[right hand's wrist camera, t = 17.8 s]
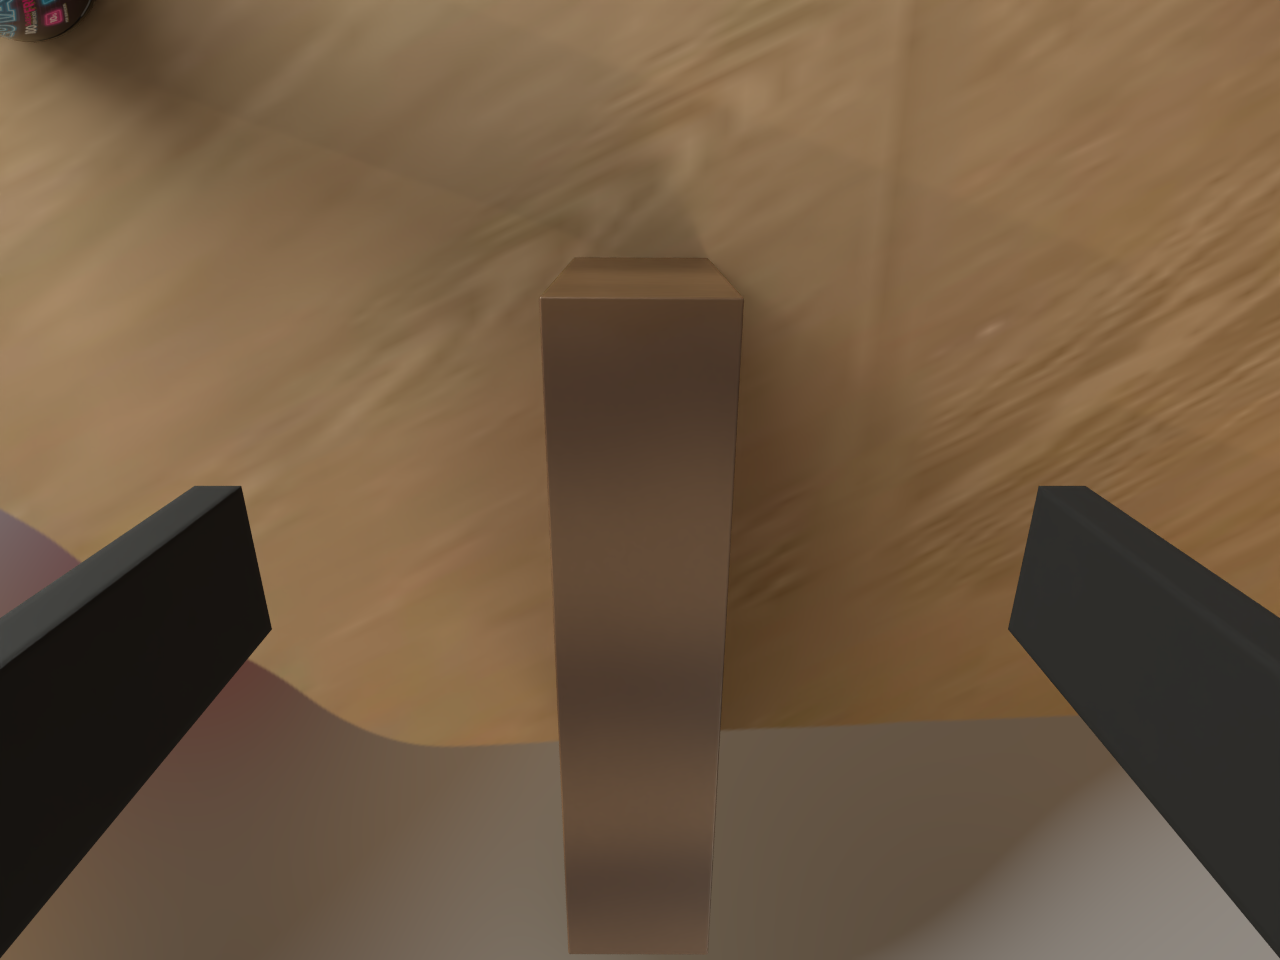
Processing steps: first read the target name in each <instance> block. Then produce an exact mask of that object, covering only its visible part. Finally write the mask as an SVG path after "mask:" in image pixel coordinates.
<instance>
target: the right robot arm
mask: <svg viewBox="0 0 1280 960" xmlns="http://www.w3.org/2000/svg"><path fill="white" fill-rule="evenodd" d="M271 630H272V628H271V623H270V618H269V614H268V609H267V604H266V600H265V595H264V590H263V586H262V581H261V576H260V572H259V567H258V562H257V558H256V553H255V548H254V544H253V539H252V534H251V530H250V525H249V520H248V515H247V511H246V506H245V501H244V497H243V492H242V487H241V486H194V487H192V488H191V489H190V490H188V491H187V492H185V493H184V494H182V495H181V496H179V497H178V498H176V499H175V500H173V501H172V502H170V503H169V504H167V505H166V506H165V507H163V508H162V509H160V510H159V511H157V512H156V513H154V514H153V515H151V516H150V517H148V518H147V519H145V520H144V521H142V522H141V523H140V524H138V525H137V526H135V527H134V528H132V529H131V530H129V531H128V532H126V533H125V534H123V535H122V536H120V537H119V538H117V539H116V540H114V541H113V542H112V543H110V544H109V545H107V546H106V547H104V548H103V549H101V550H100V551H98V552H97V553H95V554H94V555H92V556H91V557H89V558H88V559H87V560H85V561H84V562H82V563H81V564H79V565H78V566H76V567H75V568H73V569H72V570H70V571H69V572H67V573H66V574H64V575H63V576H62V577H60V578H59V579H57V580H56V581H54V582H53V583H51V584H50V585H48V586H47V587H45V588H44V589H42V590H41V591H40V592H38V593H37V594H35V595H34V596H32V597H31V598H29V599H28V600H26V601H25V602H23V603H22V604H20V605H19V606H17V607H16V608H14V609H13V610H11V611H10V612H9V613H7V614H6V615H4V616H3V617H1V618H0V958H1V957H2V955H3V954H4V953H5V952H6V951H7V949H8V948H9V947H10V946H11V944H12V943H13V942H14V941H15V940H16V938H17V937H18V936H19V935H20V934H21V932H22V931H23V930H24V929H25V928H26V926H27V925H28V924H29V923H30V921H31V920H32V919H33V918H34V917H35V915H36V914H37V913H38V912H39V911H40V909H41V908H42V907H43V906H44V905H45V903H46V902H47V901H48V900H49V898H50V897H51V896H52V895H53V894H54V892H55V891H56V890H57V889H58V888H59V886H60V885H61V884H62V883H63V881H64V880H65V879H66V878H67V877H68V875H69V874H70V873H71V872H72V871H73V869H74V868H75V867H76V866H77V865H78V863H79V862H80V861H81V860H82V858H83V857H84V856H85V855H86V854H87V852H88V851H89V850H90V849H91V848H92V846H93V845H94V844H95V843H96V842H97V840H98V839H99V838H100V837H101V836H102V834H103V833H104V832H105V831H106V829H107V828H108V827H109V826H110V825H111V823H112V822H113V821H114V820H115V819H116V817H117V816H118V815H119V814H120V812H121V811H122V810H123V809H124V808H125V806H126V805H127V804H128V803H129V802H130V800H131V799H132V798H133V797H134V796H135V794H136V793H137V792H138V791H139V790H140V788H141V787H142V786H143V785H144V783H145V782H146V781H147V780H148V779H149V777H150V776H151V775H152V774H153V773H154V771H155V770H156V769H157V768H158V766H159V765H160V764H161V763H162V762H163V760H164V759H165V758H166V757H167V756H168V754H169V753H170V752H171V751H172V750H173V748H174V747H175V746H176V745H177V743H178V742H179V741H180V740H181V739H182V737H183V736H184V735H185V734H186V733H187V731H188V730H189V729H190V728H191V727H192V725H193V724H194V723H195V722H196V720H197V719H198V718H199V717H200V716H201V714H202V713H203V712H204V711H205V710H206V708H207V707H208V706H209V705H210V703H211V702H212V701H213V700H214V699H215V697H216V696H217V695H218V694H219V693H220V691H221V690H222V689H223V688H224V687H225V685H226V684H227V683H228V682H229V681H230V679H231V678H232V677H233V676H234V674H235V673H236V672H237V671H238V670H239V668H240V667H241V666H242V665H243V664H244V662H245V661H246V660H247V659H248V658H249V656H250V655H251V654H252V653H253V651H254V650H255V649H256V648H257V647H258V645H259V644H260V643H261V642H262V641H263V639H264V638H265V637H266V636H267V635H268V633H269V632H270V631H271ZM1008 630H1009V631H1010V632H1011V633H1012V635H1013V636H1014V637H1015V638H1016V639H1017V641H1018V642H1019V643H1020V644H1021V645H1022V647H1023V648H1024V649H1025V650H1026V651H1027V653H1028V654H1029V655H1030V656H1031V658H1032V659H1033V660H1034V661H1035V662H1036V664H1037V665H1038V666H1039V667H1040V668H1041V670H1042V671H1043V672H1044V673H1045V674H1046V676H1047V677H1048V678H1049V679H1050V681H1051V682H1052V683H1053V684H1054V685H1055V687H1056V688H1057V689H1058V690H1059V691H1060V693H1061V694H1062V695H1063V696H1064V697H1065V699H1066V700H1067V701H1068V702H1069V704H1070V705H1071V706H1072V707H1073V708H1074V710H1075V711H1076V712H1077V713H1078V714H1079V716H1080V717H1081V718H1082V719H1083V720H1084V722H1085V723H1086V724H1087V725H1088V726H1089V728H1090V729H1091V730H1092V731H1093V733H1094V734H1095V735H1096V736H1097V737H1098V739H1099V740H1100V741H1101V742H1102V743H1103V745H1104V746H1105V747H1106V748H1107V750H1108V751H1109V752H1110V753H1111V754H1112V756H1113V757H1114V758H1115V759H1116V760H1117V762H1118V763H1119V764H1120V765H1121V766H1122V768H1123V769H1124V770H1125V771H1126V773H1127V774H1128V775H1129V776H1130V777H1131V779H1132V780H1133V781H1134V782H1135V783H1136V785H1137V786H1138V787H1139V788H1140V790H1141V791H1142V792H1143V793H1144V794H1145V796H1146V797H1147V798H1148V799H1149V800H1150V802H1151V803H1152V804H1153V805H1154V806H1155V808H1156V809H1157V810H1158V811H1159V813H1160V814H1161V815H1162V816H1163V817H1164V819H1165V820H1166V821H1167V822H1168V823H1169V825H1170V826H1171V827H1172V828H1173V829H1174V831H1175V832H1176V833H1177V834H1178V836H1179V837H1180V838H1181V839H1182V840H1183V842H1184V843H1185V844H1186V845H1187V846H1188V848H1189V849H1190V850H1191V851H1192V852H1193V854H1194V855H1195V856H1196V857H1197V859H1198V860H1199V861H1200V862H1201V863H1202V865H1203V866H1204V867H1205V868H1206V869H1207V871H1208V872H1209V873H1210V874H1211V875H1212V877H1213V878H1214V879H1215V880H1216V882H1217V883H1218V884H1219V885H1220V886H1221V888H1222V889H1223V890H1224V891H1225V892H1226V894H1227V895H1228V896H1229V897H1230V898H1231V900H1232V901H1233V902H1234V903H1235V904H1236V906H1237V907H1238V908H1239V909H1240V911H1241V912H1242V913H1243V914H1244V915H1245V917H1246V918H1247V919H1248V920H1249V921H1250V923H1251V924H1252V925H1253V926H1254V927H1255V929H1256V930H1257V931H1258V932H1259V934H1260V935H1261V936H1262V937H1263V938H1264V940H1265V941H1266V942H1267V943H1268V944H1269V946H1270V947H1271V948H1272V949H1273V951H1274V952H1275V953H1276V954H1277V955H1278V957H1279V958H1280V618H1279V617H1277V616H1276V615H1274V614H1273V613H1271V612H1270V611H1269V610H1267V609H1266V608H1264V607H1263V606H1261V605H1260V604H1258V603H1257V602H1255V601H1254V600H1252V599H1251V598H1249V597H1248V596H1246V595H1245V594H1244V593H1242V592H1241V591H1239V590H1238V589H1236V588H1235V587H1233V586H1232V585H1230V584H1229V583H1227V582H1226V581H1224V580H1223V579H1221V578H1220V577H1219V576H1217V575H1216V574H1214V573H1213V572H1211V571H1210V570H1208V569H1207V568H1205V567H1204V566H1202V565H1201V564H1199V563H1198V562H1196V561H1195V560H1193V559H1192V558H1191V557H1189V556H1188V555H1186V554H1185V553H1183V552H1182V551H1180V550H1179V549H1177V548H1176V547H1174V546H1173V545H1171V544H1170V543H1168V542H1167V541H1166V540H1164V539H1163V538H1161V537H1160V536H1158V535H1157V534H1155V533H1154V532H1152V531H1151V530H1149V529H1148V528H1146V527H1145V526H1143V525H1142V524H1140V523H1139V522H1138V521H1136V520H1135V519H1133V518H1132V517H1130V516H1129V515H1127V514H1126V513H1124V512H1123V511H1121V510H1120V509H1118V508H1117V507H1115V506H1114V505H1113V504H1111V503H1110V502H1108V501H1107V500H1105V499H1104V498H1102V497H1101V496H1099V495H1098V494H1096V493H1095V492H1093V491H1092V490H1090V489H1089V488H1088V487H1086V486H1039V487H1038V492H1037V497H1036V501H1035V506H1034V511H1033V515H1032V520H1031V525H1030V530H1029V534H1028V539H1027V544H1026V548H1025V553H1024V558H1023V562H1022V567H1021V572H1020V576H1019V581H1018V586H1017V590H1016V595H1015V600H1014V604H1013V609H1012V614H1011V618H1010V623H1009V628H1008Z"/></svg>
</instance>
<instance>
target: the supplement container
mask: <svg viewBox="0 0 1280 960" xmlns="http://www.w3.org/2000/svg"><path fill="white" fill-rule="evenodd" d="M95 1H96V0H0V37H2V38H7V39H11V40H16V41H22V42H43V41H48V40H52V39H55V38H58V37H60V36H63V35H65V34H66V33H68V32H70V31H72V30H73V29H74V28H76V27H77V26H78V25H79V24H80V23H82V22H83V21H84V19H85V18H86V17H87V16H88V14H89V13H90V11H91V9H92V8H93V6H94V4H95Z"/></svg>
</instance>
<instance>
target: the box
mask: <svg viewBox="0 0 1280 960" xmlns="http://www.w3.org/2000/svg"><path fill="white" fill-rule="evenodd" d="M539 303H540V326H541V348H542V370H543V393H544V415H545V438H546V460H547V482H548V505H549V527H550V549H551V572H552V594H553V617H554V639H555V661H556V684H557V706H558V728H559V751H560V773H561V796H562V817H563V840H564V862H565V885H566V907H567V930H568V952H569V954H707V953H708V942H709V924H710V906H711V888H712V870H713V851H714V833H715V815H716V797H717V779H718V761H719V743H720V724H721V706H722V688H723V670H724V652H725V634H726V616H727V597H728V579H729V561H730V543H731V525H732V507H733V489H734V470H735V452H736V434H737V416H738V398H739V380H740V362H741V343H742V325H743V307H744V299H743V297H742V296H741V295H740V294H739V293H738V292H737V290H736V289H735V288H734V287H733V286H732V285H731V284H730V283H729V282H728V280H727V279H726V278H725V277H724V276H723V275H722V274H721V273H720V272H719V270H718V269H717V268H716V267H715V266H714V265H713V264H712V263H711V262H710V260H709V259H707V258H574V259H573V260H572V261H571V262H570V263H569V265H568V266H567V267H566V268H565V269H564V270H563V271H562V273H561V274H560V275H559V276H558V277H557V278H556V279H555V281H554V282H553V283H552V284H551V285H550V286H549V287H548V288H547V290H546V291H545V292H544V293H543V294H542V295H541V296H540V298H539Z"/></svg>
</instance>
